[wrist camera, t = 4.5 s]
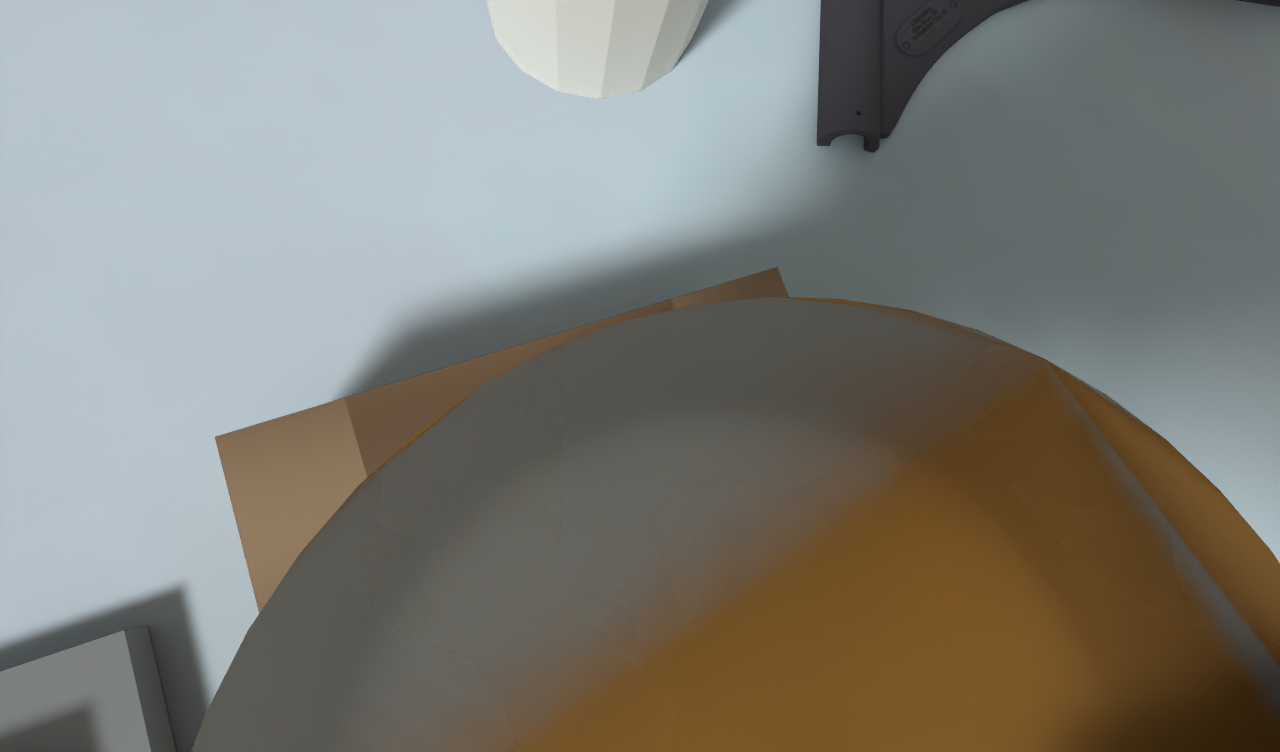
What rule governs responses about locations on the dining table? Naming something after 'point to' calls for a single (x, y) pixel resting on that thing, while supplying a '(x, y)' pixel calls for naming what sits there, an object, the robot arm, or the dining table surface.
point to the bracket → (887, 57)
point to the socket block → (374, 439)
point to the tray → (87, 699)
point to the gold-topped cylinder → (771, 561)
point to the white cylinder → (595, 41)
